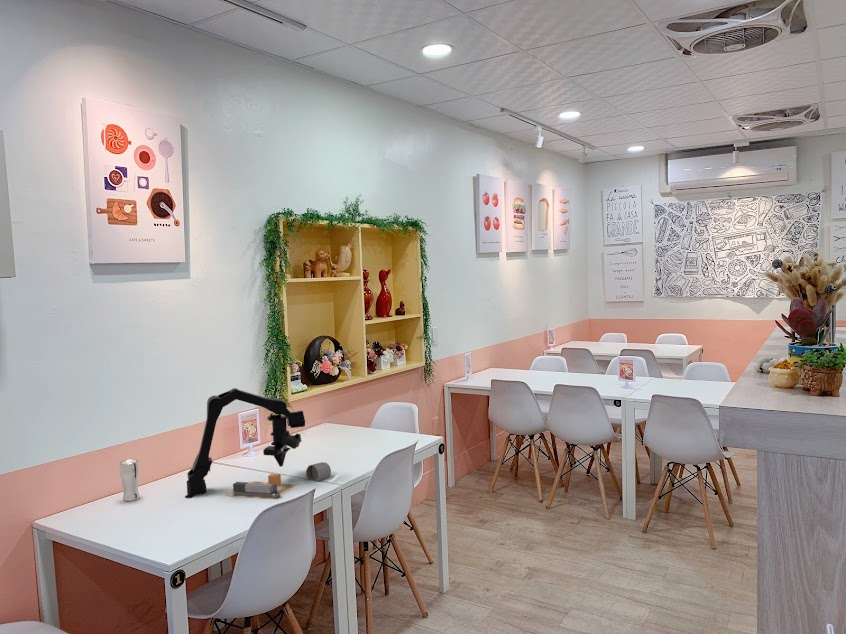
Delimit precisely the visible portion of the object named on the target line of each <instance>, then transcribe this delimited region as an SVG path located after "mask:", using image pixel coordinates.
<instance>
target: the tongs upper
mask: <svg viewBox="0 0 846 634" xmlns="http://www.w3.org/2000/svg"><path fill="white" fill-rule="evenodd" d="M248 482H249V481H247V482H245V481H235V482H234V483H233V484H232V487H233V488H232V490H233V491H238V492H258V493H272V492H273V484H259V483H248ZM233 491H232V492H233Z"/></svg>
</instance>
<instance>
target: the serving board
mask: <svg viewBox="0 0 846 634" xmlns="http://www.w3.org/2000/svg"><path fill="white" fill-rule="evenodd" d="M247 482H248V483H259V484H268V481H254V480H249V481H247ZM296 486H298V483H285V482H281V484H280V485H278V486H277V492H280V497H279V498H276V499H272V498H265V497H251V496H236V495H234V493H233V492H234V491H231V492H230V493H228V494H227V495H226V497H231V498H232V497H233V498H247V499H263V500H273V501H274V500H279V499H280V498H282V497H283V496H284V495H285V494H287V493H288V492H289V491H291V490H292V489H294V487H296Z"/></svg>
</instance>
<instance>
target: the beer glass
mask: <svg viewBox="0 0 846 634" xmlns="http://www.w3.org/2000/svg"><path fill="white" fill-rule="evenodd" d="M119 477H120V481H121V485H122V488H123V489H122V490H123V494H122V495H123V497H122V501H124V502H127V503H128V502H134V501H137V500H139V499H140V493H139V481H140V465H139V460H138V459H135V458H134V459H132V458H131V459H127V460H125V459H124V460H122V461H120V462H119Z"/></svg>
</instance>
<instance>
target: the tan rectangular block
mask: <svg viewBox="0 0 846 634" xmlns="http://www.w3.org/2000/svg"><path fill="white" fill-rule="evenodd" d="M281 477H282V475H281V473H271V474H269V475H268V476H267V479H268V481H267V482H268V484H277V486H278V485H280V484H281V483H282V479H281Z"/></svg>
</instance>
